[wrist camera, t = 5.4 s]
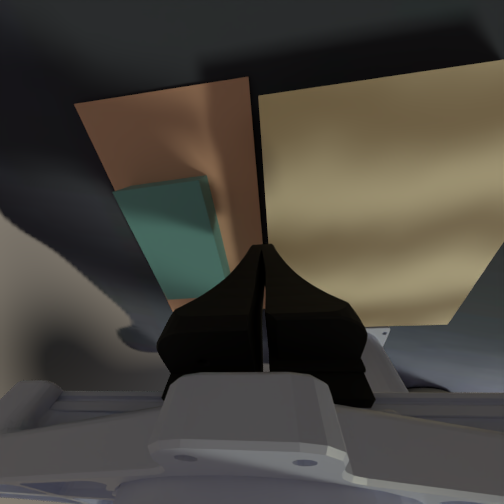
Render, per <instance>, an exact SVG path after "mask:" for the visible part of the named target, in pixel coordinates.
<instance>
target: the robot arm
mask: <svg viewBox="0 0 504 504" xmlns="http://www.w3.org/2000/svg"><path fill="white" fill-rule="evenodd" d="M264 288H265V290H266V300H265V316H266V327H267V337H268V347H269V366H270V372H263V345H262V312H263V300H264ZM389 332H390V328H389V327H388V326H374V327H364V325H363V323H362V321H361V319H360V318H359V316H358V315H357V313H356V312H355V311H354V309H353V308H352V307H351V305H350V304H349V303H348V302H346V301H344V300H342V299H339V298H337V297H335V296H332V295H330V294H328V293H326V292H324V291H322V290H321V289H319V288H317V287H315V286H314V285H312V284H310V283H309V282H307V281H306V280H304V279H303V278H302V277H300V276H299V275H298V274H297V273H296V272H295V271H293V270H292V269H291V268H290V267H289V266H288V264H287V263H286V262H285V261H284V260H283V259H282V257H281V256H280V255H279V253H278V252H277V250H276V249H275V247H274V245H273V244H258V245H252V246H251V247H250V248H249V250H248V252H247V253H246V255H245V256H244V257H243V259H242V260H241V262H240V263H239V264H238V265H237V266H236V268H235V269H234V270H233V271H232V272H231V273H230V274H229V275H228V276H227V277H226V278H225V279H224V280H222V281H221V282H220V283H219V284H217V285H216V286H215V287H213V288H212V289H211V290H209V291H208V292H206V293H204V294H203V295H201V296H200V297H198V298H196V299H194V300H193V301H191V302H189V303H187V304H185V305H183V306H181V307H179V308H177V309H175V310H174V312H173V313H172V315H171V316H170V318H169V320H168V322H167V324H166V326H165V328H164V330H163V332H162V334H161V336H160V338H159V340H158V341H157V351H158V353H159V355H160V357H161V359H162V360H163V362H164V363H165V365H166V366H167V368H168V370H169V371H170V373H171V375H170V377H169V379H168V382H167V385H166V387H165V390H164V391H158V392H157V391H62V389H61V388H60V387H59V386H58V385H56V384H55V383H53V382H49V381H44V380H26V381H25V380H23V381H19V382H17V383H16V384H15V385H14V386H13V387H12V388H11V389H10V391H8V392H7V393H6V394H5V395H4V396H3V397H2V398H1V400H0V497H4V498H17V499H29V500H41V501H51V502H61V503H71V504H504V393H418V392H408V390H407V388H406V387H405V385H404V383H403V381H402V380H401V378H400V376H399V375H398V373H397V371H396V369H395V368H394V366H393V364H392V363H391V361H390V359H389V357H388V356H387V354H386V352H385V351H384V349H383V345H384V343H385V341H386V339H387V336H388V334H389Z"/></svg>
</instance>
